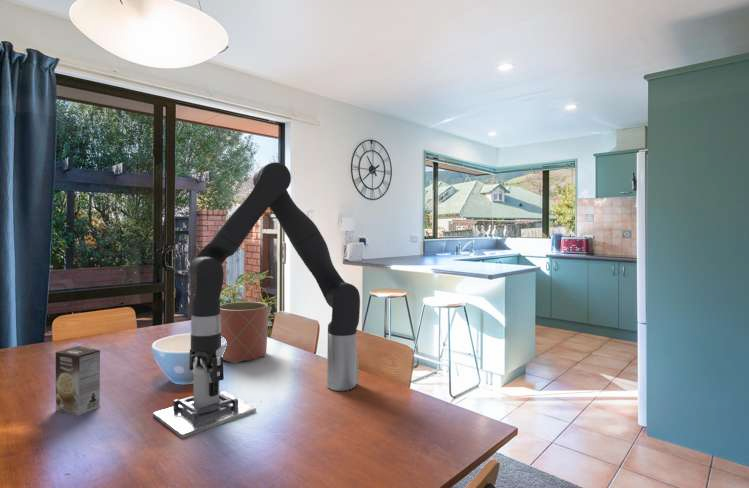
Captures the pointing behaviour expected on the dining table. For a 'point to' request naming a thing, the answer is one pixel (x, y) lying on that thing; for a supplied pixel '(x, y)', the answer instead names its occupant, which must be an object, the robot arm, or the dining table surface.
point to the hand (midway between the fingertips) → (205, 391)
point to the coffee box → (77, 380)
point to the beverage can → (203, 390)
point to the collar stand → (193, 421)
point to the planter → (244, 330)
